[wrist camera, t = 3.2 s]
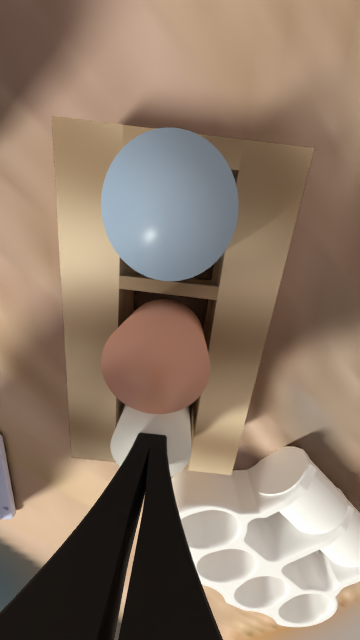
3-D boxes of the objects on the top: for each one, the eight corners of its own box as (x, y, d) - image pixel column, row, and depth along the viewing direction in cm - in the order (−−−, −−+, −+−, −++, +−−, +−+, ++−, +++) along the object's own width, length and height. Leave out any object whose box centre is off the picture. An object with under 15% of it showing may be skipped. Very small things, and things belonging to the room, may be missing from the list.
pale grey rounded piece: (185, 433, 14) (186, 483, 11) (127, 426, 14) (109, 475, 11) (193, 381, 12) (196, 421, 9) (129, 374, 12) (110, 412, 9)
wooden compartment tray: (222, 435, 15) (231, 475, 13) (92, 420, 15) (71, 457, 12) (279, 178, 11) (314, 147, 8) (88, 155, 10) (51, 116, 8)
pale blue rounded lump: (212, 278, 10) (225, 288, 6) (128, 269, 10) (100, 273, 6) (227, 181, 8) (252, 137, 5) (131, 170, 8) (100, 118, 5)
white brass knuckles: (381, 531, 19) (252, 587, 22) (268, 408, 15) (133, 495, 18) (422, 587, 15) (263, 643, 19) (291, 448, 12) (122, 546, 15)
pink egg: (197, 375, 11) (202, 419, 8) (124, 366, 11) (101, 408, 8) (208, 303, 10) (219, 323, 7) (127, 294, 10) (100, 309, 7)
